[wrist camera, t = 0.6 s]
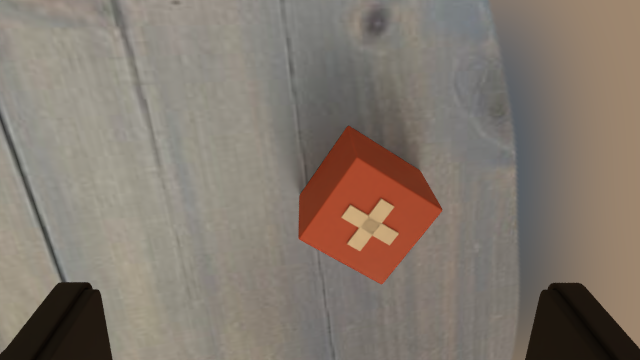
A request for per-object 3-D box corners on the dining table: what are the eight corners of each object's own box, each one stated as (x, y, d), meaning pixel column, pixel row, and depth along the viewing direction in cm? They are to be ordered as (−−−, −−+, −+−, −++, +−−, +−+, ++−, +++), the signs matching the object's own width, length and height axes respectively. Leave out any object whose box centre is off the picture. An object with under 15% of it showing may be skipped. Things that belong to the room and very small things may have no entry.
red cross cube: (347, 124, 25) (356, 157, 21) (420, 170, 26) (444, 211, 22) (298, 195, 26) (297, 240, 22) (370, 236, 27) (382, 287, 23)
